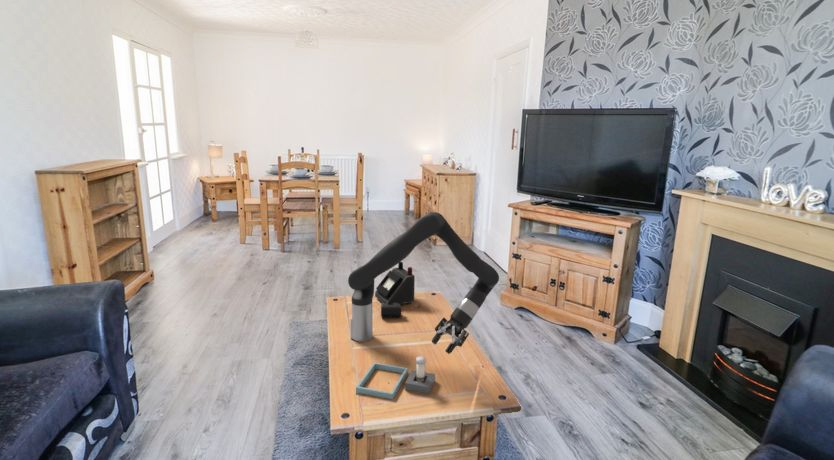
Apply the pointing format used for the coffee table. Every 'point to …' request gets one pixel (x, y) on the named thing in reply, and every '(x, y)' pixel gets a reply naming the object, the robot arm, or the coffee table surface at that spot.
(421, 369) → the white light bulb
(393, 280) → the voltmeter
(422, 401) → the coffee table surface
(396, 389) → the parts tray
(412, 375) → the socket block
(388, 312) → the black rectangular block
